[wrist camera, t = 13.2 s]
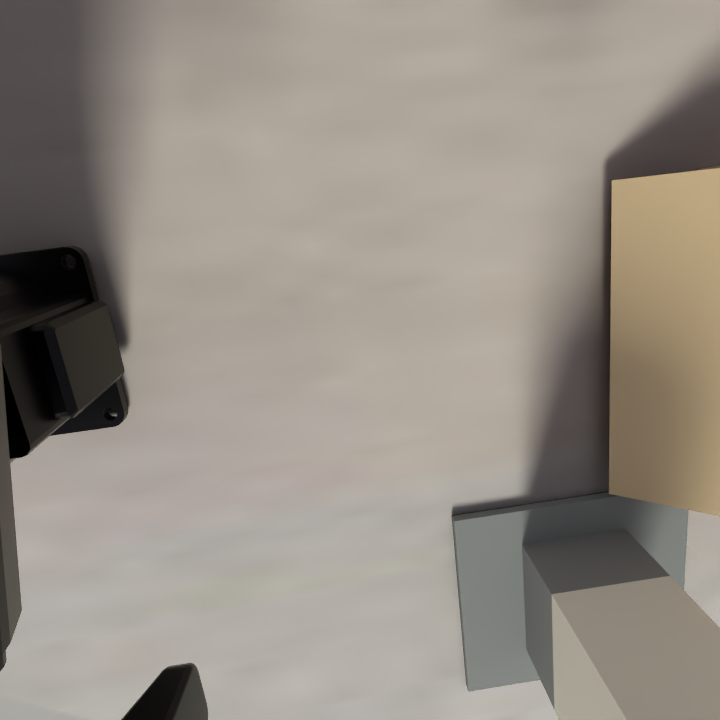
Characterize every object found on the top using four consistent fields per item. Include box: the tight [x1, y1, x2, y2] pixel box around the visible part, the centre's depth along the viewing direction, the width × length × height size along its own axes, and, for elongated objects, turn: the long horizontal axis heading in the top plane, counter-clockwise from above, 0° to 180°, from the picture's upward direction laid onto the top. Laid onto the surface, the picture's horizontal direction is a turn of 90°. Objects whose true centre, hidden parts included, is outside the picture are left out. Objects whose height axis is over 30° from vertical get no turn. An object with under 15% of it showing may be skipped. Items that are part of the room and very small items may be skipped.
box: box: [522, 529, 720, 720], centre depth 18 cm, size 4×6×12 cm
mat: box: [452, 492, 688, 691], centre depth 24 cm, size 10×9×1 cm
